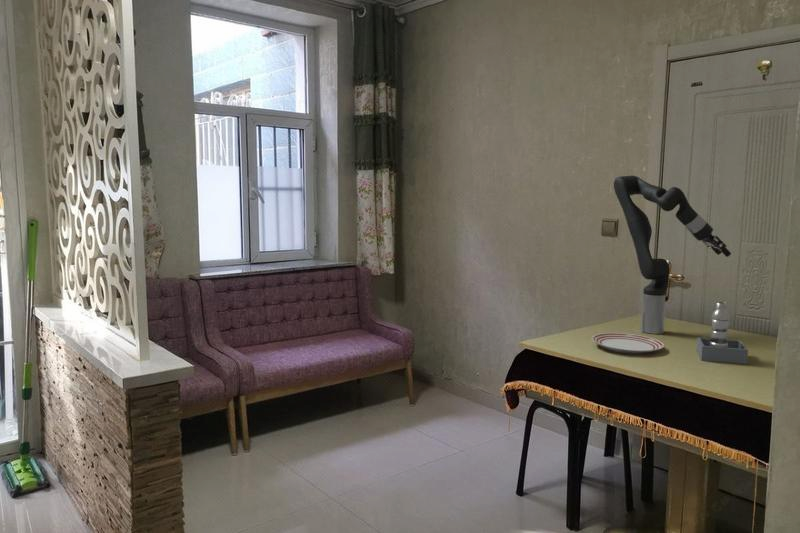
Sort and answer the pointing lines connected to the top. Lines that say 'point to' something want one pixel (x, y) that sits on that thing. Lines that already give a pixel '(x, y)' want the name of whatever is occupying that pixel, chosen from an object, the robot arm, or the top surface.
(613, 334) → the dinner plate
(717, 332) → the plastic bottle
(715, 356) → the tray
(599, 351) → the top surface
